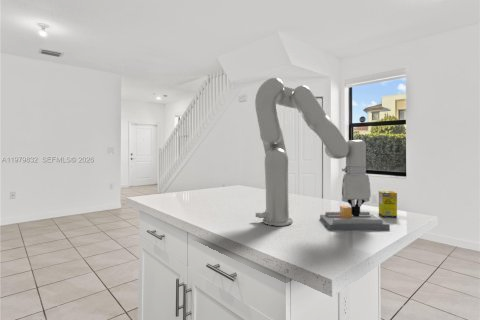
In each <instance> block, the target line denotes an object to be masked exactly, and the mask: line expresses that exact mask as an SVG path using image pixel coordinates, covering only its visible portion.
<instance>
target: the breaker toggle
mask: <svg viewBox="0 0 480 320" xmlns="http://www.w3.org/2000/svg"><path fill="white" fill-rule="evenodd" d="M339 208H340V209H339V212H340V217H341V218H342V219H352V208H351V207H350V206H349V205H340V206H339Z"/></svg>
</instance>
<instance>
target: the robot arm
mask: <svg viewBox="0 0 480 320" xmlns="http://www.w3.org/2000/svg"><path fill="white" fill-rule="evenodd" d="M254 103H255V104H254V105H255V106H254V107H255V112H256V118H257V124H258V128H259V135H260V140H261V141H262V145H263V148H264V155H265V156H264V175H265V181H264V183H265V210H264V211H262V212H255V218H258V219H262V223H263V222H264V223H265V224H264V223H263V224H264V225H267V224H268V225H267V226H271V225H274V226H273V227H283V226H284V227H285V226H290V225H291V224H292V223H293V219H292V218H290V216H289V215H290V214H289V213H290V212H289V211H290V210H289V208H290V207H289V157H288V153H287V149H286V145H285V139H284V135H283V130H282V128H281V125H280V122H279V118H278V117H279V116H278V112H277V106H276V105H279V106H283V107H287V108H290V109H296V110H297V111H298V113H299V114H300V115H301V117H302V119H303V121H304V122H305V123H306V126H307V127H309V129H310V130H312V131H313V132H314V133H315V134H316V135H317V136H318V138H319V139H320V140H321V142H322V143H323V145H324V151H325V154H326V156H328V157H329V158H330V159H335V160H342V159H344V158H345V166H344V167H343V168H341V171H342V172H344V174H343V177H342V178H343V179H342V185H341V196H342V197H341V201H342V202H344V203H348V204H349V205H350V206H351V207H350V208H352V215H353V216H355V217H356V216H357V217H359V214H360V211H361V207H362V205H363V204H365V203H368V202H370V200H371V194H372V193H371V183H370V178H369V173H368V174H367V166H366V165H367V164H366V163H367V161H366V160H367V152H366V149H367V147H366V146H367V144H366V142H365V141H364V139H363V140H361V139H353V140H352V139H350V140H346V139H345V137H344V136H343V134H342V133H341V131H340V130H339V129H338V127H337V126H336V124H335V123H334V122H333V121H332V119H331V118H330V117H329V116H328V114H327V113H326V112H325V110H324V108H323V107H322V106H321V103H319V101H318V99H317V98H316V96H315V95H314V93H313V91H312V90H311V89H310V88H309V86H306V85H298V86H296V87H295V88H292V87H288V86H285V84H284V82H283V81H282V80H281V79H280V78H277V77H270V78H268V79H267V80H265V81H264V82H262V84H261V85H260V86H259V88H258V90H257V93H256V95H255V101H254ZM355 200H356V201H355Z"/></svg>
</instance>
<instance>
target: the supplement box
mask: <svg viewBox="0 0 480 320" xmlns="http://www.w3.org/2000/svg"><path fill="white" fill-rule="evenodd" d="M378 215H380V216H381V217H382V218H394V219H395V218H398V193H397V192H396V191H392V190H378Z"/></svg>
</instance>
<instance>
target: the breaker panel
mask: <svg viewBox="0 0 480 320" xmlns="http://www.w3.org/2000/svg"><path fill="white" fill-rule="evenodd" d="M358 218H378V216H375V215H374V214H373V213H372V214H370V215H359V217H357V216H356V217H355V216H353V215H352V219H358ZM319 219H320V221H321V222H322V223H323V224H324V225H325V226H326V227H327V228H328V230H330V231H353V230H354V231H359V230H360V231H363V230H364V231H379V230H381V231H383V230H384V231H386V230H388V231H390V225H391V224H390V223H388V222H386V221H384V220H383V224H334V223H333V219H342V218H341V217H340V215H337V216H326V215H325V214H320V215H319Z"/></svg>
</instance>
